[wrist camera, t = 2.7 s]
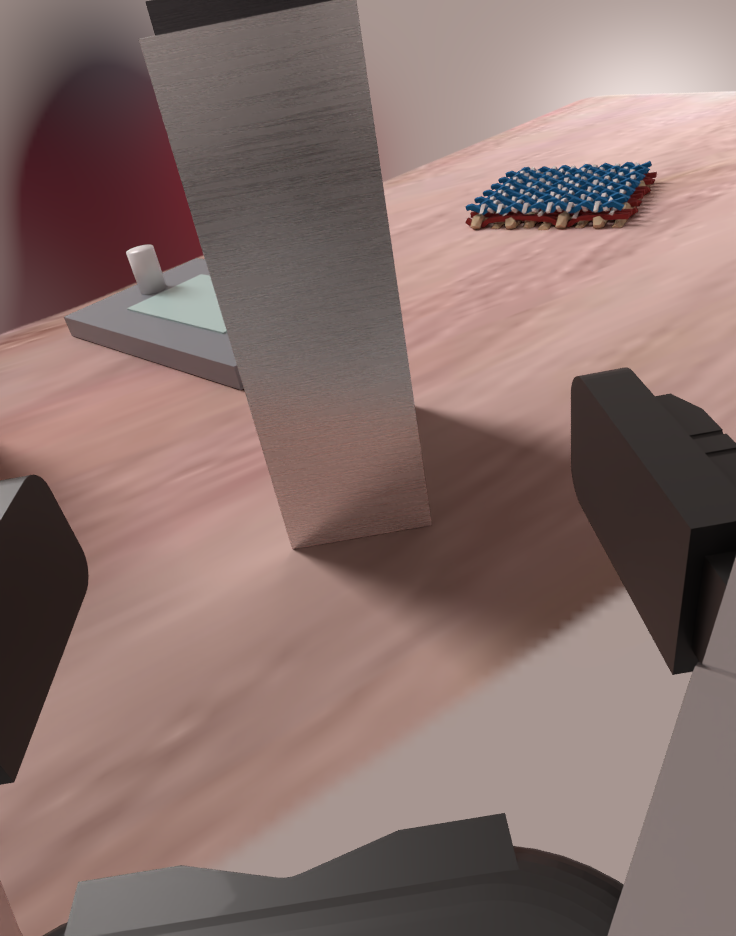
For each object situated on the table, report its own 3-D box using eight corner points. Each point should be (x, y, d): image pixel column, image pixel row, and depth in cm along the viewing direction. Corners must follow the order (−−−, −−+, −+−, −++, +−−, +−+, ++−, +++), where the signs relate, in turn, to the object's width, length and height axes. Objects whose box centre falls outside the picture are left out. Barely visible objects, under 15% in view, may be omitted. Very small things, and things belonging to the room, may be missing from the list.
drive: (292, 549, 22) (128, 4, 14) (295, 422, 29) (186, 2, 20) (431, 524, 22) (350, -41, 14) (402, 403, 28) (336, -28, 20)
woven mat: (628, 238, 41) (630, 203, 40) (462, 238, 46) (460, 207, 45) (660, 187, 48) (662, 157, 47) (513, 192, 53) (512, 164, 52)
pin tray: (379, 306, 37) (368, 237, 35) (240, 389, 32) (218, 314, 30) (201, 275, 47) (184, 220, 45) (71, 335, 41) (45, 276, 39)
